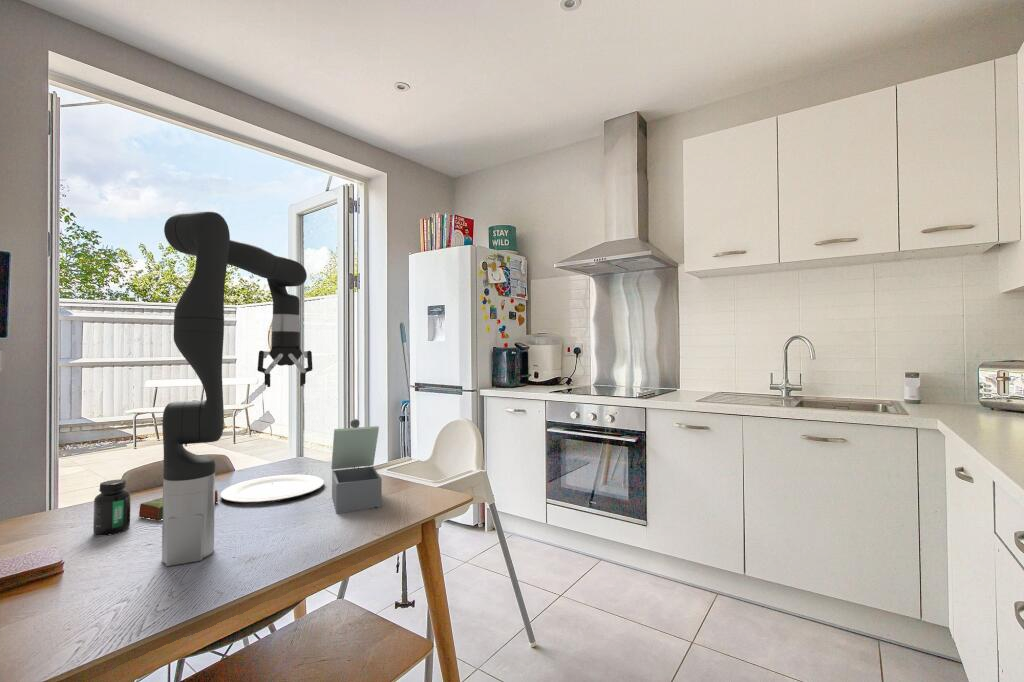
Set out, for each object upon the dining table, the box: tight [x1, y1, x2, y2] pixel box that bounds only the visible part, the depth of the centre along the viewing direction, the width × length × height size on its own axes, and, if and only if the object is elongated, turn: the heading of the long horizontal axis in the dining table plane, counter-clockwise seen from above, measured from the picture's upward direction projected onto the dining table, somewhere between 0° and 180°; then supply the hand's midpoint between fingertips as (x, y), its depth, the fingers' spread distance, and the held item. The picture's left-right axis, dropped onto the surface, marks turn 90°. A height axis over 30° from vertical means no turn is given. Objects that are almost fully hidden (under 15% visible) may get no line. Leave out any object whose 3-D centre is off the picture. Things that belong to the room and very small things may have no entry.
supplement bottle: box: [92, 478, 132, 537], centre depth 113 cm, size 7×7×12 cm
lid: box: [330, 418, 380, 471], centre depth 140 cm, size 16×12×6 cm
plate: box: [220, 474, 325, 504], centre depth 145 cm, size 29×29×2 cm
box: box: [331, 465, 383, 514], centre depth 135 cm, size 16×12×8 cm
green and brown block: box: [138, 489, 219, 520], centre depth 128 cm, size 8×16×4 cm, turn 158°
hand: (285, 386), depth 133 cm, fingers open, 8 cm apart
